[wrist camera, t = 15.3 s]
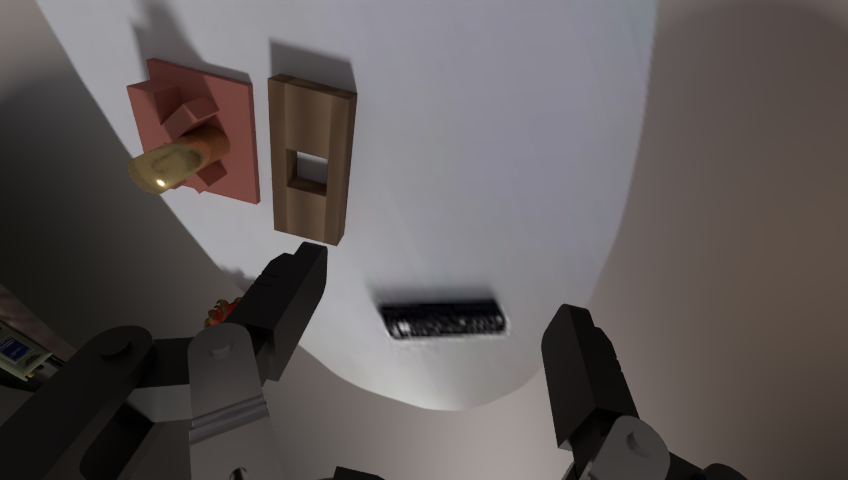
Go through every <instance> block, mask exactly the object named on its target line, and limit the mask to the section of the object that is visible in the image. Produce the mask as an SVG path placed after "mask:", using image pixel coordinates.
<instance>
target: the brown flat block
mask: <svg viewBox="0 0 848 480" xmlns="http://www.w3.org/2000/svg"><path fill="white" fill-rule="evenodd" d="M268 101H269V123H270V145H271V167H272V190H273V212H274V230H277V231H280V232H284V233H288V234H292V235H296V236H300V237H303V238H307V239H311V240H315V241H319V242H323V243H327V244H330V245H334V246H337V245H338V244H339V242H340V240H341V239H342V237H343V235H344V229H345V219H346V208H347V198H348V187H349V177H350V166H351V156H352V146H353V135H354V125H355V114H356V104H357V93H353V92H349V91H345V90H341V89H337V88H334V87H330V86H326V85H322V84H318V83H314V82H311V81H307V80H303V79H299V78H295V77H291V76H287V75H284V74H279V75H276V76H273V77H271V78H268ZM297 151H298V152H302V153H306V154H310V155H314V156H317V157H321V158H325V159H328V174H327V185H326V184H322V183H318V182H314V181H310V180H307V179H303V178H299V177H297Z"/></svg>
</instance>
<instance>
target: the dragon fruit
mask: <svg viewBox="0 0 848 480" xmlns="http://www.w3.org/2000/svg"><path fill="white" fill-rule="evenodd" d="M241 298H242V297H237V298H236V299H235V301H234V302H233V303H231V304H228V302H227V301H226V300H218V301H217V304H218V303H219V302H220V305H221V306H219V305H216V306H215V307H214V308H217V310H214V309H212V310H210V311H209V312H208V315H209V318H207V319H206V321H205V323H204V328H205V329H206V328H207V327H210V326H212V325H216V324H220V323H222V322H223V321H224V320H225V319H226V318H227V316H228V315H229V314H230V313H231V311H232V310H233V309H234V307H235V306H236V305H237V304H238V302H239V301H240V300H241Z"/></svg>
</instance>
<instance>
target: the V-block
mask: <svg viewBox="0 0 848 480" xmlns="http://www.w3.org/2000/svg"><path fill="white" fill-rule="evenodd" d="M146 61H147V66H148V70H149V75H150V79H151V80H149V81H145V82H141V83H137V84H132V85H128V86H126V87H127V91H128V95H129V98H130V102H131V106H132V110H133V113H134V117H135V121H136V125H137V128H138V132H139V136H140V140H141V143H142V147H143V151H144V153H147V152H149V151H151V150H153V149H155V148H158V147H160V146H162V145H164V144H166V143H169V142H171V141H173V140H175V139H178V138H180V137H182V136H184V135H186V134H189V133H191V132H193V131H195V130H197V129H200V128H202V127H204V126H207V125H211V126H215V127H217V128H219V129H220V130H222V131H223V132H224V133H225V134H226V136H227V137H228V139H229V142H230V151H229V153H228V154H227V155H225V156H223V157H222V158H220V159H218V160H217V161H215V162H213V163H212V164H210V165H208V166H207V167H205V168H203V169H202V170H200V171H198V172H197V173H195V174H193V175H192V176H190V177H188V178H187V179H185V180H183V181H182V182H180V183H178V184H177V185H175V186H173V187H172V188H171V189H176V188H178V187H180V186H181V185H183V186H187V187H191V188H194V189H195V190H196V191H197V192H198V193H199V194H200V193H201V192H203V191H206V192H210V193H214V194H218V195H222V196H226V197H230V198H233V199H237V200H241V201H245V202H249V203H253V204H256V205H257V204H258V203H259V202H260V189H259V174H258V160H257V145H256V131H255V116H254V102H253V87H252V84H249V83H245V82H241V81H238V80H234V79H230V78H226V77H222V76H218V75H214V74H211V73H207V72H203V71H199V70H195V69H191V68H188V67H184V66H180V65H176V64H172V63H168V62H165V61H161V60H157V59H147V60H146Z"/></svg>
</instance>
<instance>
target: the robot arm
mask: <svg viewBox="0 0 848 480" xmlns="http://www.w3.org/2000/svg"><path fill="white" fill-rule="evenodd" d="M327 255H328V249H327V247H326V246H322V245H318V244H314V243H309V242H303V243H302V244H301V245H300V247H299V248H298V250H297V251H296V252H295V254H294V255H292V254H288V253H283V254H281V255H280V256H278V257H276V258H275V259H273V260H271V261H270V262H269V264H268V265H267V266H266V267H265V269H264V270H263V271H262V273H261V275H259V276H258V278H257V279H256V280H255V282H254V284H252V285H251V287H250V288H249V289H248V291H247V292H246V293H245V295H244V296H243V297H242V298H241V300H240V301H239V302H238V304H237V305H236V306H235V307H234V309H233V310H232V311H231V313H230V314H229V315H228V316H227V318H226V319H225V320H224V321H223V322H222V323H220V324H216V325H212V326H210V327H207V328H206V329H204V330H202V331H201V332H199V333H198V334H197V335H196V336H195V337H190V338H175V339H155V340H153V339H152V336H151V334H150V333H149V331H147V330H146V329H144V328H142V327H138V326H120V327H116V328H112V329H109V330H106V331H104V332H102V333H100V334H98V335H96V336H95V337H93V338H92V339H90V340H89V341H88V342H87V343H86V344H85V345H84V346H83V347H81V348H80V349H79V350H78V351H77V352H76V353H75V354H74V355H73V356H72V357H71V358H70V359H69V360H68V361H67V362H66V363H65V364H64V365H63V366H62V367H61V368H60V369H59V370H58V371H57V372H56V373H55V374H54V375H53V376H52V377H51V378H50V379H49V380H48V381H47V382H46V383H45V384H44V385H42V386H41V387H40V388H39V389H38V390H37V391H36V392H35V393H34V394H33V395H32V396H31V397H30V398H29V399H28V400H27V401H26V402H25V403H24V404H23V405H22V406H21V407H20V408H19V409H18V410H17V411H16V412H15V413H14V414H13V415H12V416H11V417H10V418H9V419H8V420H7V421H6V422H5V423H4V424H3V425H2V426H0V480H129V479H130V477H131V475H132V474H133V473H134V471H135V470H136V468H137V466H138V465H139V463H140V462H141V460H142V459H143V457H144V456H145V454H146V453H147V451H148V450H149V448H150V447H151V445H152V444H153V442H154V441H155V439H156V437H157V436H158V434H159V433H160V431H161V430H162V428H163V427H164V425H165V424H166V422H167V421H173V420H182V419H191V418H192V421H193V425H192V428H191V429H190V433H189V444H190V459H191V473H192V474H191V475H192V480H284V477H283V473H282V468H281V465H280V459H279V455H278V451H277V447H276V442H275V437H274V433H273V429H272V424H271V420H270V416H269V411H268V407H267V403H266V401H265V399H264V395H263V390H262V387H263V385H264V383H265V381H266V379H269V380H273V381H279V379H280V377H281V375H282V373H283V371H284V369H285V367H286V365H287V364H288V362H289V360H290V357H291V356H292V354H293V351H294V350H295V348H296V346H297V344H298V342H299V340H300V338H301V336H302V335H303V333H304V331H305V329H306V327H307V325H308V323H309V321H310V319H311V317H312V315H313V313H314V311H315V309H316V307H317V305H318V304H319V302H320V300H321V298H322V295H323V293H324V289H325V286H326V278H327ZM541 350H542V357H543V362H544V368H545V374H546V380H547V386H548V391H549V398H550V404H551V410H552V416H553V421H554V427H555V433H556V439H557V445H558V448H560V449H564V450H568V451H572V452H573V457H574V461H573V462H572V463H571V465H570V466H569V468H568V469H567V471H566V473H565V474H564V476H563V478H562V480H747V479H746V478H745V477H744V476H742V474H740V473H739V472H737V471H736V470H734V469H733V468H731V467H729V466H726V465H723V464H719V463H718V464H717V463H715V464H711V465H709V466H708V467H706V468H704V469H703V470H702V469H700V468H699V467H697V466H695V465H693V464H691V463H689V462H687V461H686V460H684V459H682V458H680V457H678V456H676V455H675V454H673V453H671V452H669V451H668V449H667V446H666V445H665V443H664V441H663V440H662V438H661V437H660V436H659V435H658V433H657V432H656V431H655V430H654V429H653V428H652V427H651V426H649V425H648V424H647V423H645V422H644V421H642V420H640V418H639V416H638V412H637V410H636V407H635V404H634V402H633V399H632V396H631V394H630V391H629V388H628V386H627V383H626V380H625V377H624V375H623V373H622V372H621V367H620V364H619V361H618V360H617V359H616V358H617V356H616V353H615V351H614V348H613V345H612V343H611V341H610V340H609V339H608V337H607V336H606V335H605V333H604V332H603V331H602V329H601V328H598V327H595V326H594V323H593V320H592V318H591V315H590V312H589V310H587V309H585V308H581V307H577V306H573V305H568V304H562V305H561V306H560V308H559V309H558V311H557V313H556V314H555V316H554V317H553V319H552V321H551V322H550V324H549V326H548V327H547V329H546V330H545V332H544V335H543V338H542V343H541ZM319 480H384V479H383V478H381V477H379V476H377V475H373V474H369V473H365V472H360V471H356V470H351V469H347V468H343V467H339V466H337V467H336V470H335V473H334V477H333V478H324V479H319Z"/></svg>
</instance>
